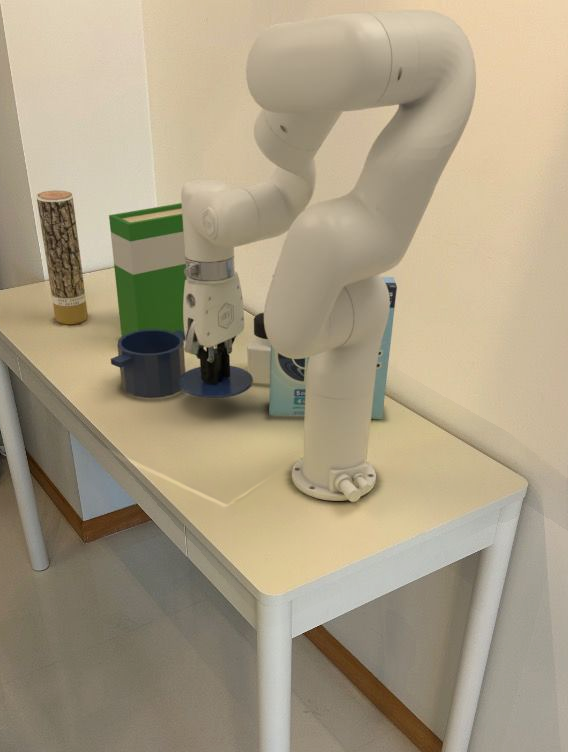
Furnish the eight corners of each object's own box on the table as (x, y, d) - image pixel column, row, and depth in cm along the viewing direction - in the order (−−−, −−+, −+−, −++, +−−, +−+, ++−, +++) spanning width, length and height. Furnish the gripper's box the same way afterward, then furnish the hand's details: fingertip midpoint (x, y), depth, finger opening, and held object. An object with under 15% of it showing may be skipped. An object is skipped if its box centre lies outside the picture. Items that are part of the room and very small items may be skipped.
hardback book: (195, 320, 171) (189, 201, 157) (214, 331, 166) (210, 209, 152) (121, 338, 162) (108, 215, 148) (140, 351, 158) (128, 224, 143)
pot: (208, 379, 148) (207, 335, 143) (143, 412, 137) (138, 366, 132) (164, 362, 154) (161, 320, 148) (97, 393, 143) (92, 347, 138)
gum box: (269, 418, 136) (270, 284, 123) (269, 404, 140) (271, 273, 127) (383, 420, 136) (397, 286, 123) (380, 406, 140) (394, 275, 127)
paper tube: (94, 318, 171) (79, 193, 156) (72, 328, 166) (54, 201, 152) (71, 311, 174) (54, 188, 159) (48, 321, 169) (28, 195, 155)
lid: (267, 382, 136) (267, 348, 132) (219, 408, 128) (217, 372, 124) (213, 365, 142) (211, 331, 139) (163, 388, 134) (160, 353, 131)
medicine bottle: (285, 388, 146) (286, 324, 138) (246, 384, 147) (246, 320, 139) (292, 371, 151) (294, 309, 144) (255, 368, 152) (255, 306, 145)
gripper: (192, 285, 117) (199, 401, 127) (262, 259, 127) (263, 369, 138) (155, 275, 120) (165, 389, 131) (226, 251, 131) (230, 358, 141)
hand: (215, 377), depth 134 cm, fingers closed on lid, 2 cm apart
